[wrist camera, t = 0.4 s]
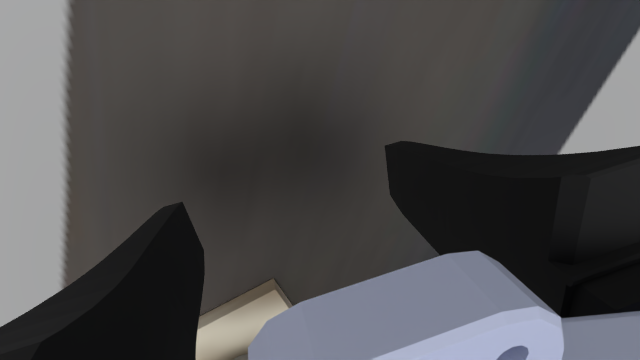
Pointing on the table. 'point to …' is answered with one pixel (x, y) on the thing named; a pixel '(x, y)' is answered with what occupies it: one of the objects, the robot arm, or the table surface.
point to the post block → (238, 323)
